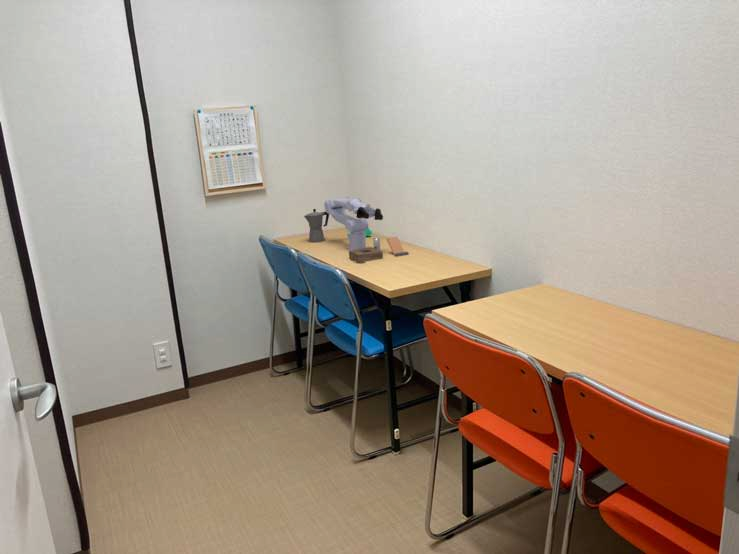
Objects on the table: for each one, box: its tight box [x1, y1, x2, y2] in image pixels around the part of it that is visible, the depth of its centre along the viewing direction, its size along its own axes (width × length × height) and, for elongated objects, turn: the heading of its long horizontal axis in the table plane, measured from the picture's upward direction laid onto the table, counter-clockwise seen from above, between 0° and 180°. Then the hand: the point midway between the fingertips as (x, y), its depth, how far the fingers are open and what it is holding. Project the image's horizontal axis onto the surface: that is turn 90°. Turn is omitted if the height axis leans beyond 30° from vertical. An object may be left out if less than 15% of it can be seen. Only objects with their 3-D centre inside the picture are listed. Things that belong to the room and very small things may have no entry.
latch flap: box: [386, 236, 405, 255], centre depth 284 cm, size 11×6×1 cm
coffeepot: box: [303, 208, 330, 243], centre depth 326 cm, size 15×9×18 cm, turn 122°
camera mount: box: [347, 227, 373, 238], centre depth 330 cm, size 12×8×10 cm, turn 114°
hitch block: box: [348, 246, 384, 264], centre depth 278 cm, size 12×12×4 cm
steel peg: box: [372, 237, 381, 251], centre depth 287 cm, size 3×3×8 cm
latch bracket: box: [393, 251, 410, 258], centre depth 280 cm, size 2×7×2 cm, turn 116°
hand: (375, 217), depth 277 cm, fingers open, 7 cm apart
